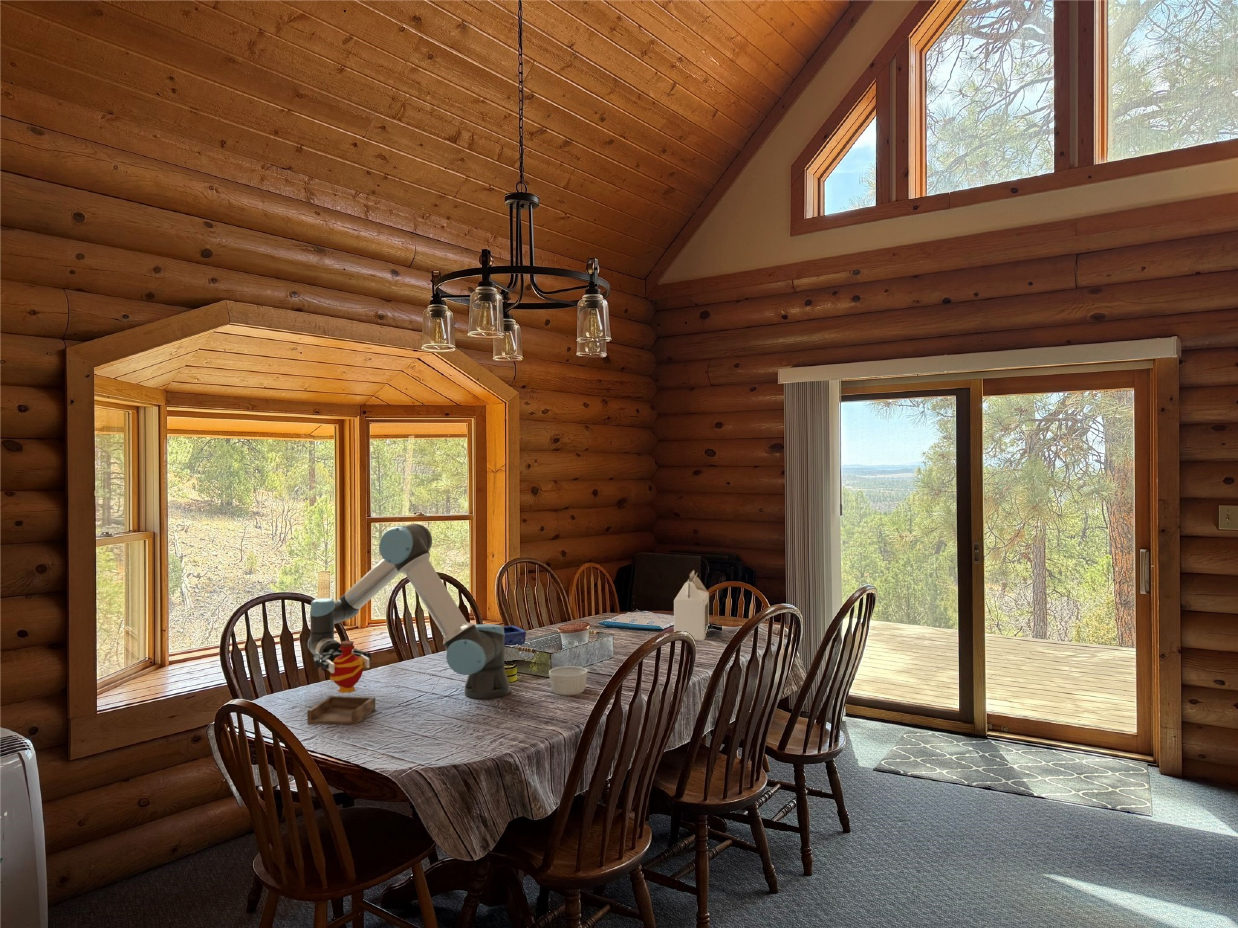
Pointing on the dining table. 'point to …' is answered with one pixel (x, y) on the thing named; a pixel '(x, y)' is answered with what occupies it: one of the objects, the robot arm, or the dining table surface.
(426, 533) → the robot arm
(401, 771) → the dining table surface
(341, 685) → the potion bottle
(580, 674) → the ramekin
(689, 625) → the gable box
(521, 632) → the flower pot
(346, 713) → the u rest
